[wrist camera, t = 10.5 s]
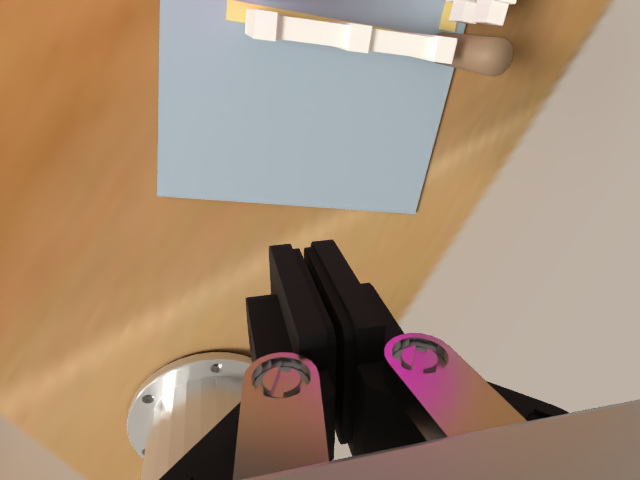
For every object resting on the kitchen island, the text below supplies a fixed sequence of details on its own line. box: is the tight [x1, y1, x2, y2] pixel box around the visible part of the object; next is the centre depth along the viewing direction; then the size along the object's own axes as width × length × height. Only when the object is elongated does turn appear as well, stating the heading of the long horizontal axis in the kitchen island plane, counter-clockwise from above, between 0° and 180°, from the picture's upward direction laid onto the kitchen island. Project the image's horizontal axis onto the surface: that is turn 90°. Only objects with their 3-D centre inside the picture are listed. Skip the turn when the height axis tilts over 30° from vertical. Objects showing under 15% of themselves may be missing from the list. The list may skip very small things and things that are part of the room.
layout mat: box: [157, 0, 466, 214], centre depth 27 cm, size 16×18×1 cm
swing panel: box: [245, 9, 457, 64], centre depth 24 cm, size 10×1×5 cm, turn 82°
